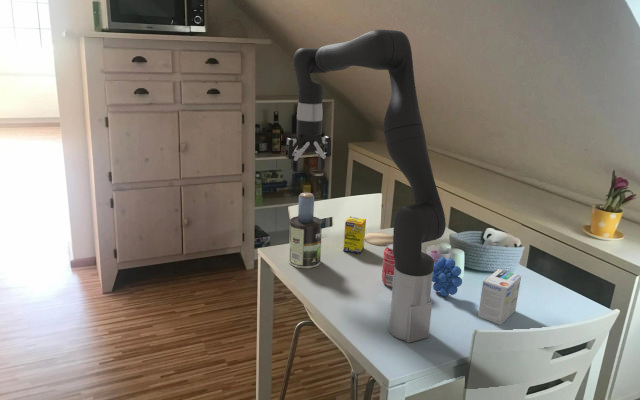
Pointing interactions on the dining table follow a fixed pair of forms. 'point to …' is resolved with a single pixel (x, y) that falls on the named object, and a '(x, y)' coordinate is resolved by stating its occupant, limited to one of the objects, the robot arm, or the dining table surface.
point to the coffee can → (305, 243)
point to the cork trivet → (379, 238)
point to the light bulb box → (499, 296)
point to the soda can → (388, 266)
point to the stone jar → (306, 208)
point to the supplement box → (354, 235)
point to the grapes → (446, 276)
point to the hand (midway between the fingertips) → (307, 171)
